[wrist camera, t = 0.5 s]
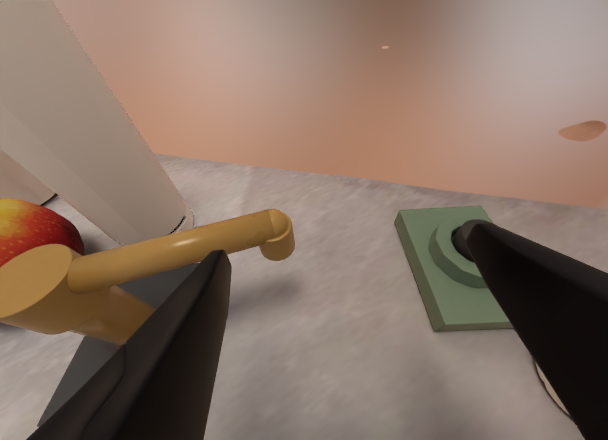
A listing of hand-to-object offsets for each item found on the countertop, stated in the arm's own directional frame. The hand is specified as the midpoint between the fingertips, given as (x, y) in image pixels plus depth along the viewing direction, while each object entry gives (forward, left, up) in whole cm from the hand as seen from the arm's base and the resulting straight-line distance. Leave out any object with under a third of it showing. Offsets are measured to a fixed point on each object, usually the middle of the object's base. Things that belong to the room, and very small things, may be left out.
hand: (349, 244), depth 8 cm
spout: (+2, +10, -6) cm, 12 cm away
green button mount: (+6, -13, -14) cm, 20 cm away
